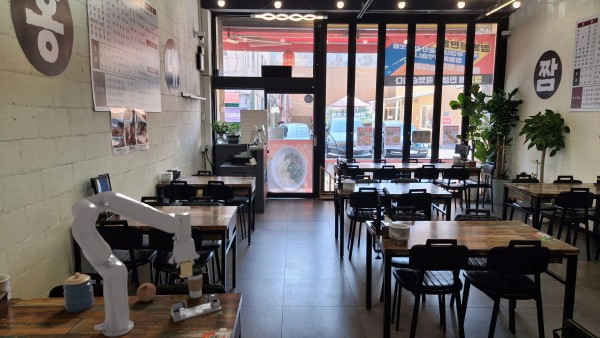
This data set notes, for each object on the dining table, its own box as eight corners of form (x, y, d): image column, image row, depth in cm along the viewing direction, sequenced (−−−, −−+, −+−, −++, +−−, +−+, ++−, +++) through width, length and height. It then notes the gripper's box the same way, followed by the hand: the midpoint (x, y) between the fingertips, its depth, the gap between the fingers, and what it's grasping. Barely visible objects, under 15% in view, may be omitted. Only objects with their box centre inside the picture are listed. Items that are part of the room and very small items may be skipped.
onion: (147, 308, 200) (143, 296, 194) (134, 300, 203) (130, 288, 198) (161, 295, 207) (158, 283, 201) (148, 288, 210) (145, 275, 205)
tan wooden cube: (181, 278, 190) (180, 264, 189) (177, 274, 194) (177, 260, 193) (192, 275, 193) (191, 261, 192) (188, 272, 197) (188, 258, 196)
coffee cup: (206, 292, 211) (204, 265, 209) (200, 299, 202) (199, 271, 200) (191, 292, 211) (189, 265, 210) (185, 299, 203) (183, 271, 201)
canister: (99, 300, 203) (96, 267, 201) (85, 312, 191) (82, 277, 188) (74, 300, 204) (71, 268, 202) (59, 312, 191) (55, 278, 189)
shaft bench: (174, 321, 180) (174, 307, 179) (170, 314, 187) (170, 300, 186) (220, 309, 191) (220, 295, 190) (215, 303, 198) (214, 289, 197)
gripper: (167, 242, 183) (169, 279, 185) (203, 236, 193) (204, 271, 195) (163, 238, 190) (165, 274, 192) (197, 233, 199) (199, 267, 201)
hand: (185, 272), depth 193 cm, fingers closed on tan wooden cube, 5 cm apart
